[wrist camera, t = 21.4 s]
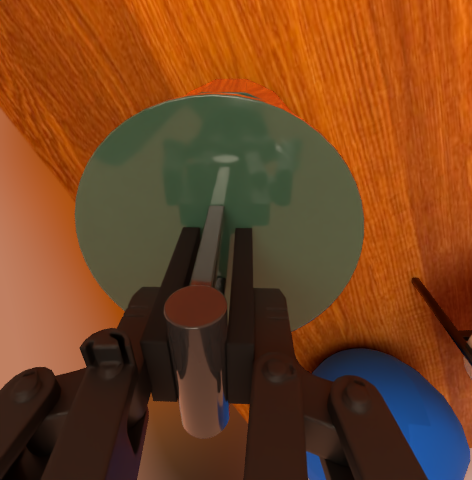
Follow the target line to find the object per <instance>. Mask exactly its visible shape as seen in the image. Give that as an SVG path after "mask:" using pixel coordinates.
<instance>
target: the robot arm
mask: <svg viewBox="0 0 472 480" xmlns="http://www.w3.org/2000/svg"><path fill="white" fill-rule="evenodd" d="M199 245H200V228H198V227H183V228H182V231H181V234H180V236H179V239H178V242H177V244H176V247H175V250H174V252H173V255H172V258H171V260H170V263H169V266H168V268H167V271H166V273H165V276H164V279H163V281H162V284H161V287H141V288H140V289H139V290H138V291H137V292H136V293H135V294H134V295H133V296H132V298H131V300H130V302H129V304H128V308H126V310H125V313H124V316H123V317H122V319H121V321H120V323H119V325H118V327H117V329H115V328H110V329H104V330H101V331H98V332H96V333H94V334H92V335H91V336H90V337H88V338H87V339H86V340H85V341H84V342H83V344H82V345H81V347H80V350H81V353H82V356H83V358H84V361H85V363H86V366H87V367H86V368H84V369H80V370H77V371H74V372H70V373H66V374H62V375H58V376H55V375H54V373H53V372H52V370H50V369H48V368H46V367H35V368H32V369H28V370H25V371H23V372H21V373H20V374H18V375H16V376H15V377H13V378H12V379H11V380H10V381H9V382H8V383H7V384H6V385H5V386H4V387H3V388H2V389H1V390H0V480H137V476H138V471H139V466H140V460H141V455H142V450H143V445H144V440H145V435H146V429H147V423H148V419H149V418H148V417H149V415H148V414H149V411H148V407H147V404H148V401H149V397H150V394H151V393H152V397H153V401H170V402H172V401H173V402H177V399H178V396H177V390H176V384H175V378H174V372H173V366H172V360H171V354H170V348H169V342H168V336H167V330H166V324H165V318H164V311H163V310H164V305H165V302H166V300H167V299H168V297H169V296H170V295H171V294H172V293H174V292H175V291H177V290H179V289H181V288H183V287H186V286H189V284H190V280H191V276H192V272H193V268H194V264H195V260H196V256H197V252H198V249H199ZM227 379H228V403H233V404H250V409H249V421H248V433H247V445H246V457H245V469H244V480H308V471H307V456H306V451H307V452H310V453H312V454H315V455H317V456H319V458H320V462H321V465H322V468H323V471H324V474H325V478H326V480H428V478H427V476H426V475H425V473H424V471H423V469H422V467H421V466H420V464H419V462H418V460H417V458H416V457H415V455H414V453H413V451H412V449H411V447H410V446H409V444H408V442H407V440H406V438H405V437H404V435H403V433H402V431H401V429H400V428H399V426H398V424H397V422H396V420H395V419H394V417H393V415H392V413H391V411H390V410H389V408H388V406H387V404H386V402H385V401H384V399H383V397H382V395H381V394H380V392H379V391H378V390H377V389H376V387H375V386H374V385H372V384H371V383H370V382H368V381H367V380H366V379H363V378H361V377H358V376H354V375H344V376H341V377H338V378H337V379H336V380H335V381H334V382H333V381H329V380H326V379H323V378H320V377H317V376H315V375H313V374H311V373H309V372H308V371H306V370H305V369H304V368H303V367H302V366H301V365H300V364H299V363H298V361H297V359H296V357H295V354H294V348H293V341H292V335H291V328H290V321H289V315H288V308H287V302H286V297H285V296H284V295H283V293H282V292H281V291H280V289H275V288H253V241H252V228H235V241H234V254H233V267H232V280H231V293H230V306H229V319H228V339H227Z"/></svg>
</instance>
